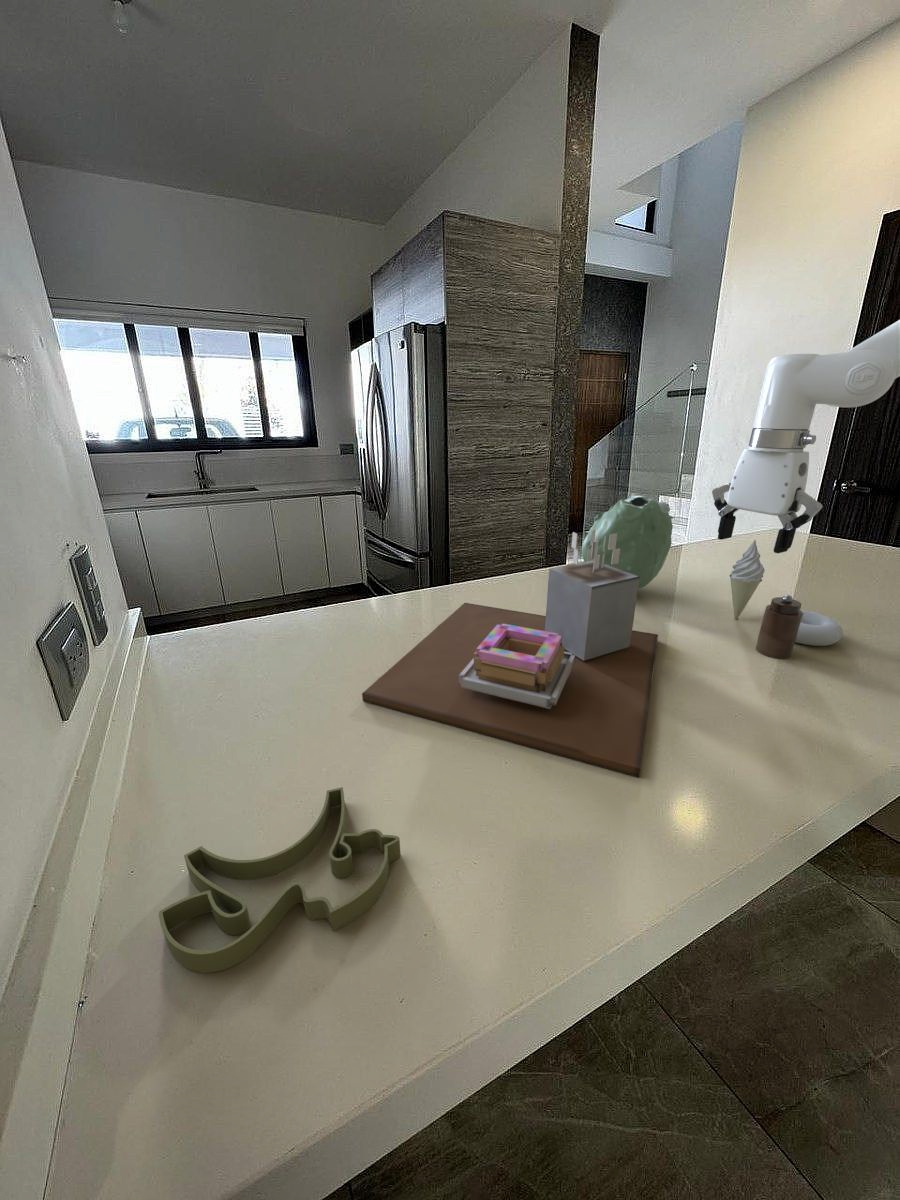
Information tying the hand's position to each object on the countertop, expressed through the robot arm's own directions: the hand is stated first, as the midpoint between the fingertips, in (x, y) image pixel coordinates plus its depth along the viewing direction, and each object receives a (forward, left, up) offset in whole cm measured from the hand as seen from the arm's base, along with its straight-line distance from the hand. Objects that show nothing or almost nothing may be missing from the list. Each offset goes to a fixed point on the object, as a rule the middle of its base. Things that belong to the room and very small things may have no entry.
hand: (751, 544), depth 83 cm
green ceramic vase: (+21, -8, -14) cm, 26 cm away
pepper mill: (-4, +12, -14) cm, 19 cm away
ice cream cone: (0, 0, -14) cm, 14 cm away
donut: (-10, +4, -14) cm, 18 cm away
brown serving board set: (+31, +32, -14) cm, 47 cm away
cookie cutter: (+40, +74, -14) cm, 85 cm away
